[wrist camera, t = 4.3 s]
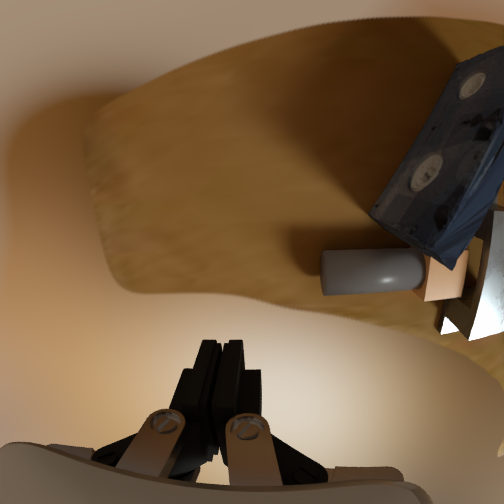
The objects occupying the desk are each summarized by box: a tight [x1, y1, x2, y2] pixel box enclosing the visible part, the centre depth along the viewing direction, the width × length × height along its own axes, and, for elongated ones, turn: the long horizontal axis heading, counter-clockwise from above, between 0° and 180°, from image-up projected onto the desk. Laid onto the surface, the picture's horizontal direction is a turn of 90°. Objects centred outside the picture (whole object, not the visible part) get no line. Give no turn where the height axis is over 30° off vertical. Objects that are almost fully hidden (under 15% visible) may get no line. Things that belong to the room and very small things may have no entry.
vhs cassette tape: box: [368, 46, 504, 271], centre depth 15 cm, size 18×3×10 cm, turn 145°
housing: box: [437, 196, 504, 340], centre depth 20 cm, size 15×5×5 cm, turn 3°
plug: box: [320, 246, 469, 301], centre depth 21 cm, size 4×12×4 cm, turn 93°
